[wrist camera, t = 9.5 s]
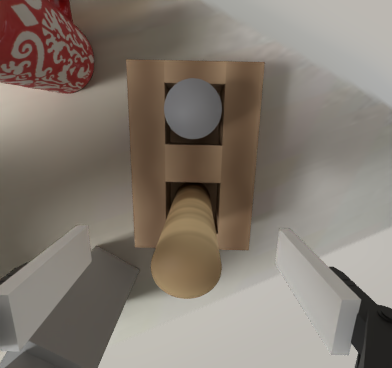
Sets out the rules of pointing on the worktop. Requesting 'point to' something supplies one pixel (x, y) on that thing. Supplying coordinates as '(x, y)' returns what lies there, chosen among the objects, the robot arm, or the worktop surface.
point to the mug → (43, 46)
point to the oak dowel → (188, 245)
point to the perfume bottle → (80, 318)
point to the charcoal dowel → (192, 108)
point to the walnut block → (194, 147)
